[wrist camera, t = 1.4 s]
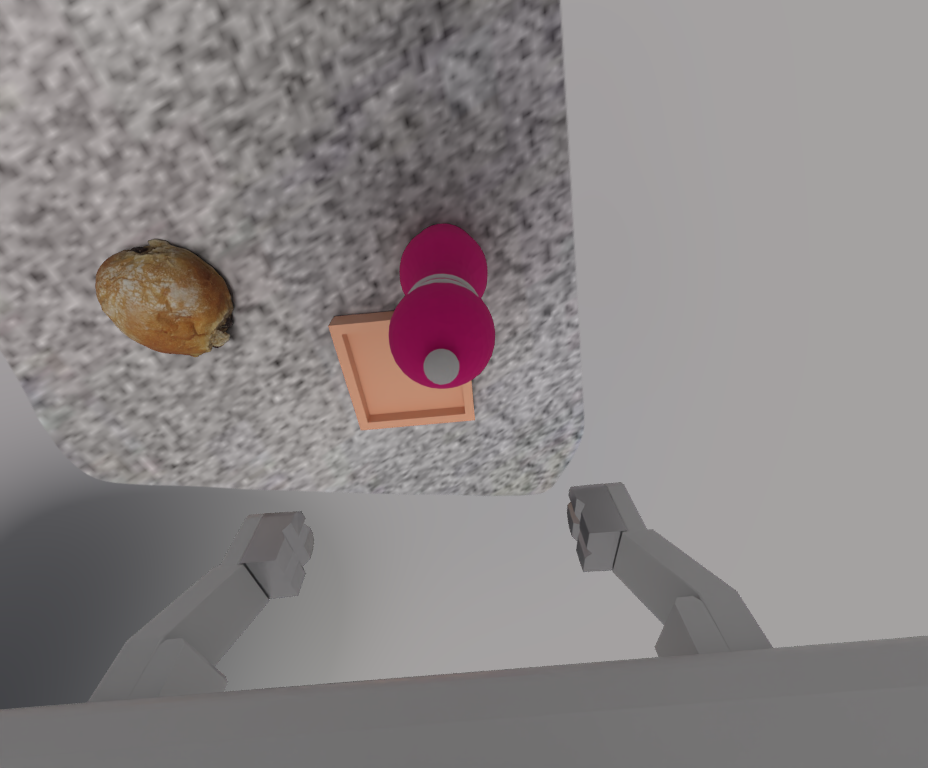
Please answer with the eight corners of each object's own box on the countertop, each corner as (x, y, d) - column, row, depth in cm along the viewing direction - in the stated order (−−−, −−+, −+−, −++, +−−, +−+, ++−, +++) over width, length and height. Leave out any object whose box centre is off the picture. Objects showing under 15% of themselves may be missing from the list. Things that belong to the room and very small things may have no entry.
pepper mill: (481, 213, 32) (517, 296, 16) (485, 293, 36) (517, 427, 20) (398, 220, 32) (346, 311, 16) (411, 300, 36) (380, 439, 20)
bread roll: (228, 238, 36) (155, 214, 28) (263, 341, 37) (202, 345, 30) (140, 266, 37) (45, 250, 29) (177, 365, 39) (96, 376, 31)
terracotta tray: (334, 316, 37) (328, 325, 35) (464, 304, 37) (465, 313, 35) (364, 418, 44) (361, 430, 42) (473, 408, 44) (474, 420, 42)
